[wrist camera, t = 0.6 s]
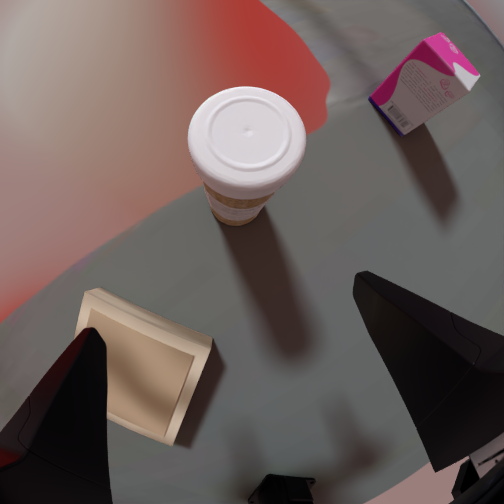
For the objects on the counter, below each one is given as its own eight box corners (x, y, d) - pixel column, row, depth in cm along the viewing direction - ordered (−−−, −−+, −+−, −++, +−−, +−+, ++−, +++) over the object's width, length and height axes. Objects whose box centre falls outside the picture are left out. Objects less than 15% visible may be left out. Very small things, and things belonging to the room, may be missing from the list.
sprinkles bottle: (224, 165, 22) (224, 67, 9) (272, 189, 23) (326, 114, 9) (198, 212, 22) (162, 155, 9) (247, 237, 23) (277, 212, 9)
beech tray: (176, 428, 22) (171, 447, 19) (79, 382, 21) (65, 395, 18) (212, 337, 22) (210, 349, 19) (100, 287, 21) (84, 291, 18)
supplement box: (422, 117, 25) (483, 76, 13) (400, 138, 24) (470, 94, 13) (390, 80, 24) (442, 29, 13) (365, 98, 24) (422, 38, 12)
